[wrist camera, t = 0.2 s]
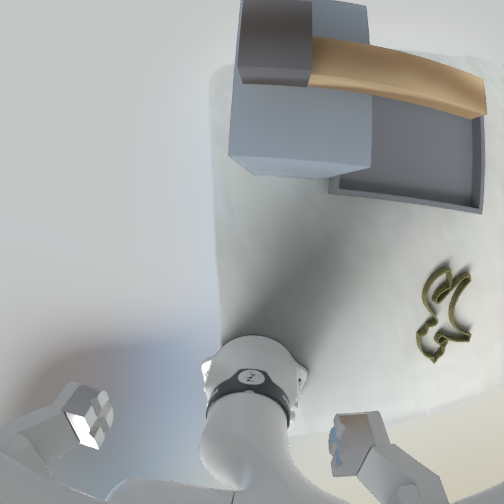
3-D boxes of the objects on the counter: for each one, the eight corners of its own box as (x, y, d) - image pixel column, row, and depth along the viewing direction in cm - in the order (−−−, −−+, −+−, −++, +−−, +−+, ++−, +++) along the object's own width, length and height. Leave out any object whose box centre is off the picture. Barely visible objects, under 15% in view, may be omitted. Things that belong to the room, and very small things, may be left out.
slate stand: (320, 179, 46) (370, 167, 20) (254, 174, 46) (228, 155, 21) (323, 93, 43) (366, 6, 18) (259, 88, 44) (241, -6, 18)
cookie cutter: (465, 344, 49) (470, 348, 47) (416, 363, 51) (419, 368, 49) (465, 259, 46) (471, 262, 44) (411, 276, 48) (415, 280, 46)
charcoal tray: (471, 212, 44) (482, 214, 41) (328, 193, 46) (332, 193, 43) (472, 114, 41) (483, 111, 37) (332, 83, 42) (336, 75, 39)
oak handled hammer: (470, 131, 19) (511, 121, 13) (246, 95, 20) (237, 66, 15) (466, 76, 18) (502, 57, 12) (250, 37, 19) (243, -2, 14)
